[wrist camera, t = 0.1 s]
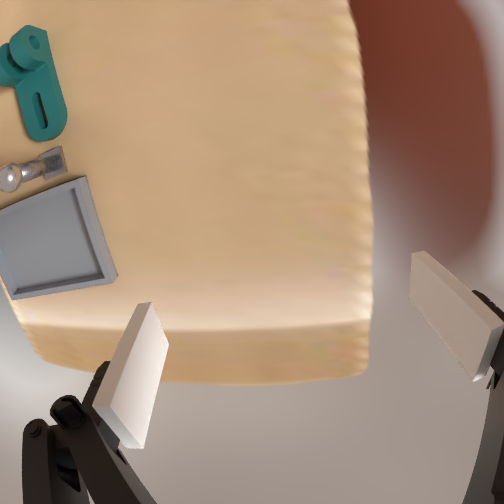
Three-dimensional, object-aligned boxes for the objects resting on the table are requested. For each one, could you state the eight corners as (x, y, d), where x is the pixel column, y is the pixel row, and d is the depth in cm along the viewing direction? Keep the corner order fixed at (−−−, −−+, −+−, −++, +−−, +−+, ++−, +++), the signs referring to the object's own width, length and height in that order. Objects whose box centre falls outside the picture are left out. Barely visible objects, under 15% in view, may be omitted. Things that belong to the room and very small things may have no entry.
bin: (-12, 215, 39) (-20, 219, 37) (86, 175, 38) (78, 178, 36) (18, 293, 45) (12, 300, 43) (118, 275, 45) (112, 283, 42)
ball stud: (42, 154, 36) (-13, 170, 25) (61, 146, 36) (7, 159, 24) (48, 179, 38) (-5, 201, 26) (67, 171, 38) (15, 192, 26)
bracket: (16, 54, 29) (-14, 50, 22) (47, 31, 29) (18, 21, 21) (41, 148, 36) (10, 155, 29) (73, 127, 36) (43, 130, 28)
